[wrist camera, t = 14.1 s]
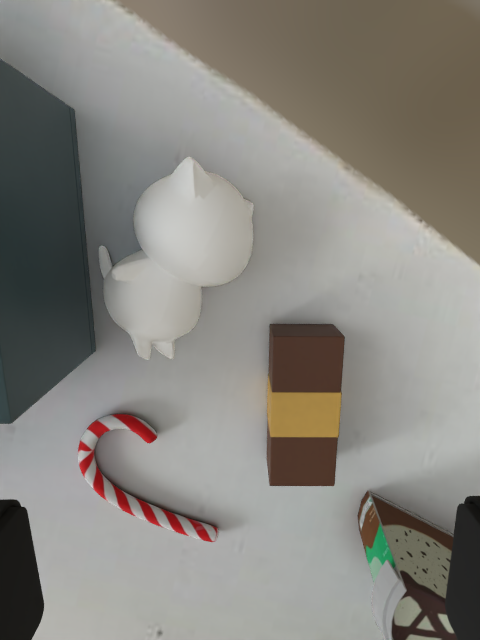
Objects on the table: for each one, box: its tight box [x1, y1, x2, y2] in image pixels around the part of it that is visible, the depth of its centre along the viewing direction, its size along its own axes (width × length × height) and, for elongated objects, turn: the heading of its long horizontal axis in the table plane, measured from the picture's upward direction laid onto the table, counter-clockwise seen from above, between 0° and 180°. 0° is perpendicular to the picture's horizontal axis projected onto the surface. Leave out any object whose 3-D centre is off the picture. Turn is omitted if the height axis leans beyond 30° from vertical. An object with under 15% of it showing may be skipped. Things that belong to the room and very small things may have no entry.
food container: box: [358, 491, 458, 640], centre depth 30 cm, size 12×6×10 cm, turn 61°
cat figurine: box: [98, 157, 254, 360], centre depth 26 cm, size 9×11×12 cm
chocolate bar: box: [267, 324, 345, 486], centre depth 30 cm, size 5×12×4 cm, turn 0°
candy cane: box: [78, 414, 219, 542], centre depth 33 cm, size 8×1×15 cm
